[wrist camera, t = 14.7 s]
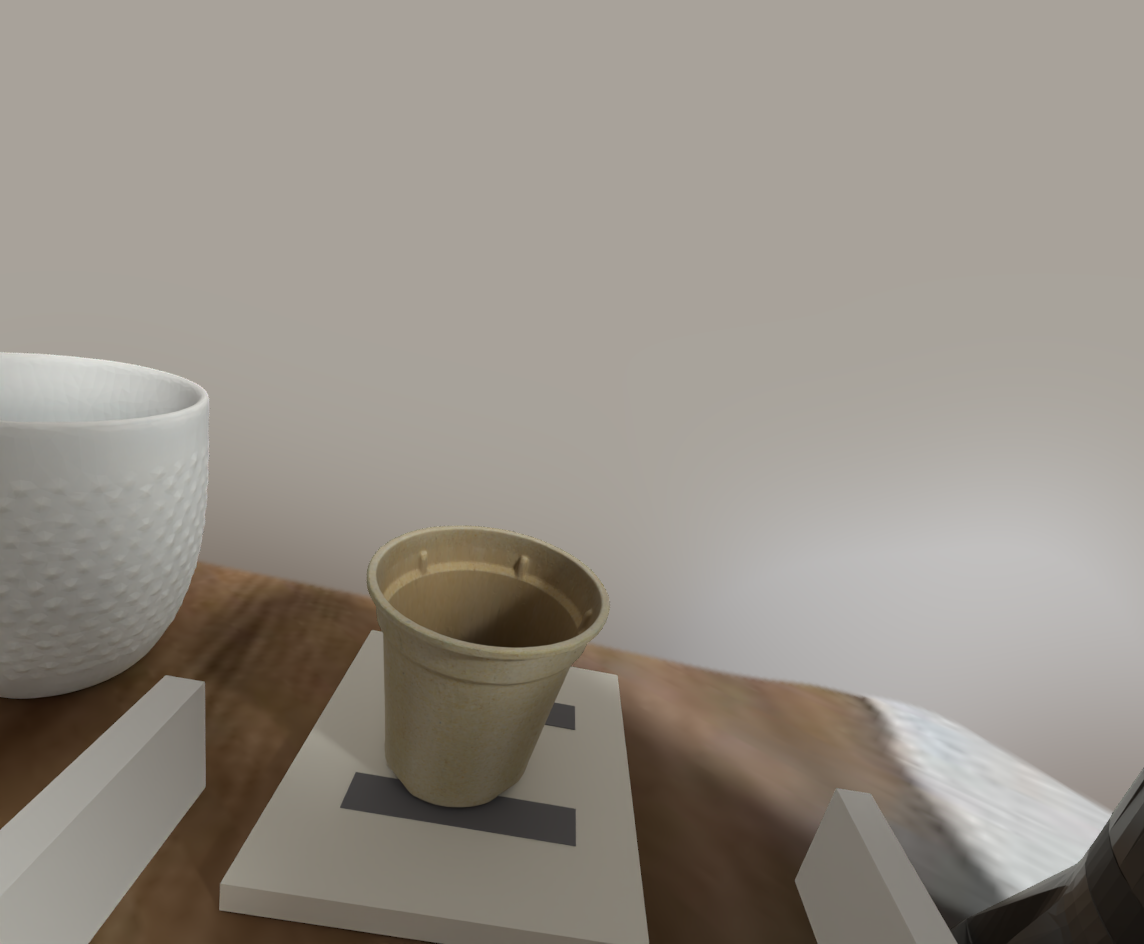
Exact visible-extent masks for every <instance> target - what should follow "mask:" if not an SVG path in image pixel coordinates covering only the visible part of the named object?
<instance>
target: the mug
mask: <svg viewBox="0 0 1144 944" xmlns="http://www.w3.org/2000/svg"><path fill="white" fill-rule="evenodd" d="M209 407H210V401H209V396H208V393H207V392H206V390H205V389H204V388H202V387H201V386H200V385H198V384H196V383H194V382H192V381H190V380H188V379H186V378H183V377H181V376H178V375H174V374H171V373H168V372H164V371H160V370H156V369H152V368H148V367H143V366H139V365H133V364H127V363H123V362H116V361H108V360H101V359H94V358H83V357H74V356H60V355H49V354H34V353H8V352H0V697H4V698H13V699H28V698H42V697H50V696H56V695H62V694H66V693H71V692H74V691H78V690H81V689H85V688H88V687H91V686H94V685H97V684H99V683H101V682H104V681H106V680H108V679H110V678H112V677H114V676H116V675H118V674H120V673H122V672H123V671H125V670H127V669H128V668H130V667H131V666H132V665H134V664H135V663H136V662H138V661H139V660H140V659H141V658H143V657H144V656H145V655H146V654H147V653H148V652H149V651H150V650H151V648H152V647H153V646H154V645H155V644H156V643H157V641H158V640H159V639H160V637H161V636H162V635H163V633H164V632H165V630H166V629H167V627H168V626H169V624H170V623H171V622H172V621H173V620H174V618H175V615H176V613H177V612H178V610H179V607H180V606H181V605H182V602H183V599H184V596H185V595H186V592H187V591H188V588H189V584H190V583H191V577H192V575H193V574H194V569H195V568H196V566H197V560H198V554H199V553H200V551H201V547H200V545H201V544H202V535H203V528H204V525H205V510H206V507H207V503H206V501H207V499H208V497H207V486H208V483H209V481H208V475H209V470H208V461H209V452H208V450H209Z"/></svg>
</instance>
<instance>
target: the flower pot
mask: <svg viewBox="0 0 1144 944" xmlns="http://www.w3.org/2000/svg"><path fill="white" fill-rule="evenodd" d="M367 587H368V591H369V594H370V596H371V598H372V600H373V602H374V603H375V605H376V613H377V620H378V623H379V626H380V629H381V630H382V632H383V650H384V694H385V758H386V761H387V765H388V767H389V768H390V769H391V770H392V771H393V772H394V773H395V775H396V776H397V777H398V778H399V780H400V781H401V782H402V783H403V785H404V786H405V787H406V789H407V790H408V791H409V792H410V793H411V794H412V795H413V796H415V797H417V798H419V799H421V800H424V801H426V802H429V803H432V804H435V805H440V806H445V807H472V806H478V805H481V804H485V803H488V802H490V801H492V800H493V799H494V798H496V797H497V796H498V795H500V794H501V793H502V792H504V791H506V790H507V789H509V788H510V787H511V786H513V785H514V784H516V783H517V782H518V781H519V780H520V778H521V777H522V775H523V774H524V772H525V770H526V767H527V765H528V762H529V759H530V757H531V755H532V753H533V751H534V748H535V746H536V743H537V741H538V739H539V736H540V734H541V732H542V729H543V727H544V725H545V723H546V720H547V718H548V716H549V714H550V711H551V709H552V707H553V705H554V702H555V700H556V698H557V696H558V693H559V691H560V689H561V687H562V684H563V682H564V680H565V678H566V676H567V673H568V671H569V669H570V667H571V665H572V664H573V663H574V662H575V661H576V660H577V659H578V658H579V657H580V656H581V654H582V653H583V651H584V649H585V647H586V645H587V643H588V642H590V641H591V640H592V639H593V638H594V637H595V636H597V635H598V633H599V632H600V631H601V630H602V628H603V626H604V624H605V622H606V620H607V617H608V614H609V608H610V601H609V595H608V593H607V592H606V589H605V588H604V585H603V584H602V583H601V581H600V580H599V578H598V577H597V576H596V575H595V574H594V572H593V571H592V570H591V569H589V568H588V567H587V566H586V565H585V564H583V563H582V562H581V561H580V560H578V559H576V558H575V557H574V556H572V555H571V554H569V553H567V552H565V551H563V550H562V549H559V548H557V547H556V546H553V545H551V544H548V543H546V542H544V541H542V540H539V539H536V538H534V537H531V536H526V535H524V534H519V533H516V532H514V531H507V530H503V529H496V528H489V527H480V526H439V527H430V528H425V529H419V530H415V531H412V532H409V533H406V534H403V535H401V536H399V537H396V538H394V539H392V540H390V541H389V542H387V543H386V544H385V545H384V546H382V547H381V548H379V550H378V551H377V552H376V553H375V555H374V556H373V557H372V559H371V561H370V563H369V566H368V569H367Z"/></svg>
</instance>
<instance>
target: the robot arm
mask: <svg viewBox="0 0 1144 944" xmlns="http://www.w3.org/2000/svg"><path fill="white" fill-rule="evenodd" d="M205 787H206V756H205V682H203V681H197V680H191V679H186V678H180V677H174V676H168V675H165V676H164V677H163V678H162V679H161V680H160V681H159V682H158V683H157V684H156V685H155V686H154V687H153V688H152V689H150V690H149V691H148V692H147V693H146V694H145V695H144V696H143V697H142V698H141V699H140V700H139V701H138V702H137V703H135V704H134V705H133V706H132V707H131V708H130V709H129V710H128V711H127V712H126V713H125V714H124V715H123V716H122V717H121V718H119V719H118V720H117V721H116V722H115V723H114V724H113V725H112V726H111V727H110V728H109V729H108V730H107V731H106V732H104V733H103V734H102V735H101V736H100V737H99V738H98V739H97V740H96V741H95V742H94V743H93V744H92V745H91V746H89V747H88V748H87V749H86V750H85V751H84V752H83V753H82V754H81V755H80V756H79V757H78V758H77V759H76V760H75V761H73V762H72V763H71V764H70V765H69V766H68V767H67V768H66V769H65V770H64V771H63V772H62V773H61V774H60V775H58V776H57V777H56V778H55V779H54V780H53V781H52V782H51V783H50V784H49V785H48V786H47V787H46V788H45V789H43V790H42V791H41V792H40V793H39V794H38V795H37V796H36V797H35V798H34V799H33V800H32V801H31V802H30V803H28V804H27V805H26V806H25V807H24V808H23V809H22V810H21V811H20V812H19V813H18V814H17V815H16V816H15V817H14V818H12V819H11V820H10V821H9V822H8V823H7V824H6V825H5V826H4V827H3V828H2V829H1V830H0V944H88V943H89V942H90V941H91V939H92V938H93V937H94V935H95V934H96V933H97V931H98V930H99V929H100V927H101V926H102V925H103V923H104V922H105V921H106V919H107V918H108V917H109V915H110V914H111V913H112V911H113V910H114V909H115V907H116V906H117V905H118V903H119V902H120V901H121V899H122V898H123V897H124V895H125V894H126V893H127V891H128V890H129V889H130V887H131V886H132V885H133V883H134V882H135V881H136V879H137V878H138V877H139V875H140V874H141V873H142V871H143V870H144V869H145V867H146V866H147V865H148V863H149V862H150V861H151V859H152V858H153V857H154V855H155V854H156V853H157V851H158V850H159V849H160V847H161V846H162V845H163V843H164V842H165V841H166V839H167V838H168V837H169V835H170V834H171V833H172V831H173V830H174V829H175V827H176V826H177V825H178V823H179V822H180V821H181V819H182V818H183V817H184V815H185V814H186V813H187V811H188V810H189V809H190V807H191V806H192V805H193V803H194V802H195V801H196V799H197V798H198V797H199V795H200V794H201V793H202V791H203V790H204V788H205ZM795 883H796V886H797V888H798V891H799V894H800V897H801V899H802V902H803V905H804V908H805V910H806V913H807V916H808V919H809V921H810V924H811V927H812V929H813V932H814V935H815V938H816V940H817V943H818V944H1144V768H1143V770H1142V771H1141V772H1140V774H1139V775H1138V777H1137V778H1136V780H1135V781H1134V782H1133V784H1132V785H1131V787H1130V788H1129V790H1128V791H1127V793H1126V794H1125V796H1124V797H1123V798H1122V800H1121V801H1120V803H1119V804H1118V806H1117V807H1116V809H1115V810H1114V812H1113V813H1112V816H1111V818H1110V819H1109V821H1108V822H1107V824H1106V825H1105V827H1104V828H1103V830H1102V831H1101V833H1100V834H1099V835H1098V837H1097V838H1096V840H1095V841H1094V843H1093V844H1092V846H1091V847H1090V848H1089V850H1088V851H1087V852H1086V854H1085V855H1084V857H1083V858H1082V859H1081V860H1080V861H1079V862H1078V863H1077V864H1075V865H1074V866H1072V867H1070V868H1068V869H1066V870H1064V871H1062V872H1060V873H1058V874H1056V875H1054V876H1052V877H1050V878H1048V879H1046V880H1044V881H1042V882H1040V883H1038V884H1036V885H1034V886H1032V887H1030V888H1028V889H1026V890H1024V891H1022V892H1020V893H1018V894H1016V895H1014V896H1012V897H1010V898H1008V899H1005V900H1003V901H1001V902H999V903H997V904H995V905H993V906H991V907H989V908H987V909H985V910H983V911H981V912H979V913H977V914H975V915H973V916H971V917H969V918H967V919H965V920H963V921H962V922H960V923H959V924H957V925H956V926H955V927H953V928H952V929H951V930H949V928H948V926H947V925H946V923H945V921H944V919H943V918H942V916H941V914H940V912H939V911H938V909H937V907H936V906H935V904H934V902H933V900H932V899H931V897H930V895H929V893H928V892H927V890H926V888H925V887H924V885H923V883H922V881H921V880H920V878H919V876H918V874H917V873H916V871H915V869H914V867H913V866H912V864H911V862H910V861H909V859H908V857H907V855H906V854H905V852H904V850H903V848H902V847H901V845H900V843H899V842H898V840H897V838H896V836H895V835H894V833H893V831H892V829H891V828H890V826H889V824H888V823H887V821H886V819H885V817H884V816H883V814H882V812H881V810H880V809H879V807H878V805H877V804H876V802H875V800H874V798H873V797H872V795H871V794H869V793H863V792H857V791H851V790H845V789H839V788H836V790H835V792H834V794H833V796H832V798H831V801H830V803H829V805H828V807H827V810H826V812H825V814H824V816H823V818H822V821H821V823H820V825H819V827H818V830H817V832H816V834H815V836H814V838H813V841H812V843H811V845H810V847H809V850H808V852H807V854H806V856H805V859H804V861H803V863H802V865H801V867H800V870H799V872H798V874H797V876H796V879H795Z"/></svg>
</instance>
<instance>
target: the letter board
mask: <svg viewBox="0 0 1144 944" xmlns="http://www.w3.org/2000/svg"><path fill="white" fill-rule="evenodd" d="M219 910H221V911H228V912H235V913H241V914H248V915H255V916H261V917H268V918H275V919H281V920H288V921H295V922H301V923H308V924H315V925H321V926H328V927H335V928H341V929H348V930H355V931H361V932H368V933H375V934H381V935H388V936H395V937H401V938H408V939H415V940H421V941H428V942H434V943H441V944H649V938H648V929H647V921H646V912H645V904H644V895H643V887H642V878H641V870H640V862H639V853H638V845H637V836H636V828H635V819H634V811H633V802H632V794H631V785H630V777H629V769H628V760H627V752H626V743H625V735H624V726H623V718H622V709H621V701H620V692H619V684H618V676H617V675H614V674H608V673H603V672H597V671H592V670H587V669H581V668H576V667H570V669H569V671H568V673H567V676H566V678H565V680H564V682H563V684H562V687H561V689H560V691H559V693H558V696H557V698H556V700H555V702H554V705H553V707H552V709H551V711H550V714H549V716H548V718H547V720H546V723H545V725H544V727H543V729H542V732H541V734H540V736H539V739H538V741H537V743H536V746H535V748H534V751H533V753H532V755H531V757H530V759H529V762H528V765H527V767H526V770H525V772H524V774H523V775H522V777H521V778H520V780H519V781H518V782H517V783H516V784H514V785H513V786H511V787H510V788H509V789H507V790H506V791H504V792H502V793H501V794H500V795H498V796H497V797H496V798H494V799H493V800H492V801H490V802H488V803H485V804H481V805H478V806H472V807H445V806H440V805H435V804H432V803H429V802H426V801H424V800H421V799H419V798H417V797H415V796H413V795H412V794H411V793H410V792H409V791H408V790H407V789H406V787H405V786H404V785H403V783H402V782H401V781H400V780H399V778H398V777H397V776H396V775H395V773H394V772H393V771H392V770H391V769H390V768H389V767H388V765H387V761H386V758H385V694H384V650H383V632H381V631H375V630H372V631H371V632H370V634H369V636H368V637H367V639H366V641H365V642H364V644H363V646H362V647H361V649H360V651H359V652H358V654H357V656H356V657H355V659H354V661H353V662H352V664H351V666H350V667H349V669H348V671H347V672H346V674H345V676H344V677H343V679H342V681H341V682H340V684H339V686H338V687H337V689H336V691H335V692H334V694H333V696H332V697H331V699H330V701H329V702H328V704H327V706H326V707H325V709H324V711H323V712H322V714H321V716H320V717H319V719H318V721H317V722H316V724H315V726H314V728H313V729H312V731H311V733H310V734H309V736H308V738H307V739H306V741H305V743H304V744H303V746H302V748H301V749H300V751H299V753H298V754H297V756H296V758H295V759H294V761H293V763H292V764H291V766H290V768H289V769H288V771H287V773H286V774H285V776H284V778H283V779H282V781H281V783H280V784H279V786H278V788H277V789H276V791H275V793H274V794H273V796H272V798H271V799H270V801H269V803H268V804H267V806H266V808H265V809H264V811H263V813H262V814H261V816H260V818H259V819H258V821H257V823H256V824H255V826H254V828H253V829H252V831H251V833H250V834H249V836H248V838H247V840H246V841H245V843H244V845H243V846H242V848H241V850H240V851H239V853H238V855H237V856H236V858H235V860H234V861H233V863H232V865H231V866H230V868H229V870H228V871H227V873H226V875H225V876H224V878H223V880H222V881H221V883H220V901H219Z"/></svg>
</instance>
